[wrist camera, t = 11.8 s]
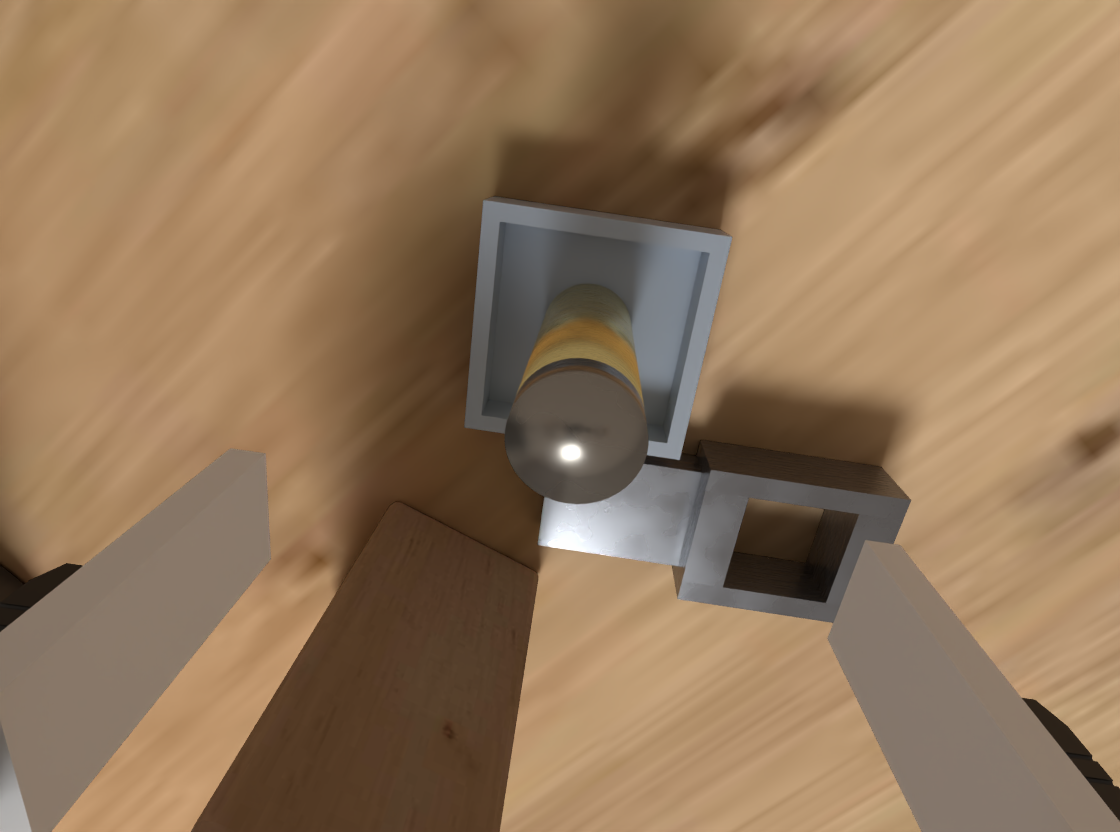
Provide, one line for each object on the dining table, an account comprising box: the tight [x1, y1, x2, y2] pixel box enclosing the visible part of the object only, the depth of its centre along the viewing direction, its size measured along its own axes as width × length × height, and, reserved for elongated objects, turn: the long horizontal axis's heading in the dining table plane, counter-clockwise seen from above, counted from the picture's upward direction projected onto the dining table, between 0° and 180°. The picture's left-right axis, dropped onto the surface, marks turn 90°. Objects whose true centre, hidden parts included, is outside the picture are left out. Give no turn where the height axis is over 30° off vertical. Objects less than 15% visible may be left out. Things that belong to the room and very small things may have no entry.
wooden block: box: [191, 502, 538, 832], centre depth 30 cm, size 10×10×20 cm
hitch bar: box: [537, 440, 911, 623], centre depth 34 cm, size 18×8×4 cm, turn 82°
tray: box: [464, 196, 732, 460], centre depth 31 cm, size 11×11×3 cm
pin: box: [505, 283, 649, 504], centre depth 25 cm, size 4×4×14 cm
